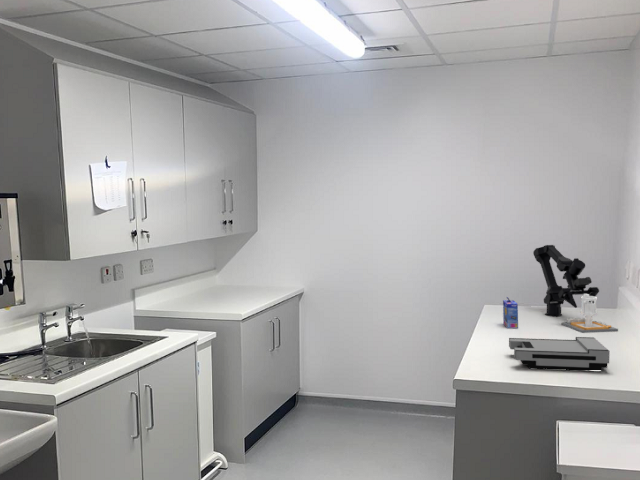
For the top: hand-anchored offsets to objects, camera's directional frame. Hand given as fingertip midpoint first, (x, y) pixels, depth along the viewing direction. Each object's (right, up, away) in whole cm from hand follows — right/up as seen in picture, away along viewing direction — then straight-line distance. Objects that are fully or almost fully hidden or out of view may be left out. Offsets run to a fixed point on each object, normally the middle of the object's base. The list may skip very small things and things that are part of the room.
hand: (585, 307), depth 282 cm
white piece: (0, -9, -3) cm, 9 cm away
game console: (-38, -15, -59) cm, 72 cm away
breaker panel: (+1, -10, -1) cm, 10 cm away
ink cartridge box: (-35, -10, +5) cm, 36 cm away
